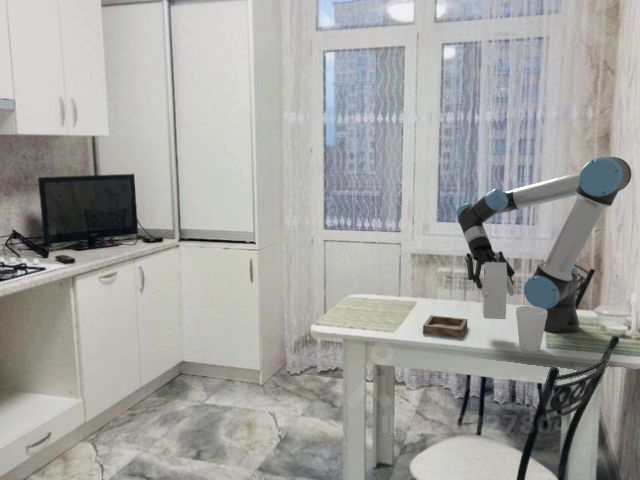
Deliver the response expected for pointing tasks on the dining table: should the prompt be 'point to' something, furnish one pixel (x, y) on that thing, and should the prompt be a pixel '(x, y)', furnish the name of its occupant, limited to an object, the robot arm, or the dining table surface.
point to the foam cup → (530, 327)
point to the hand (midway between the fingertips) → (499, 294)
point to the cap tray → (445, 326)
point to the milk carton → (495, 290)
